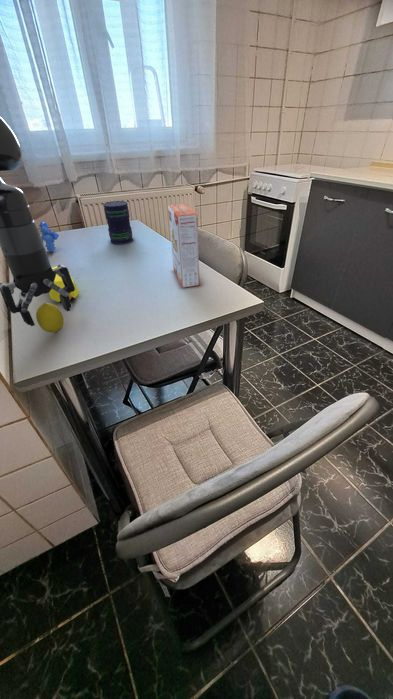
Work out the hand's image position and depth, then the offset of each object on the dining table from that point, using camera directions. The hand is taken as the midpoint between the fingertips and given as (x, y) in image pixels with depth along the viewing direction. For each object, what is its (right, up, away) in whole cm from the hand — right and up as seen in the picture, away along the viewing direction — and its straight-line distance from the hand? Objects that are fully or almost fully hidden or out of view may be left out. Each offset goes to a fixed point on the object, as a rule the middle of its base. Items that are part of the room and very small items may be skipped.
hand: (50, 317), depth 68 cm
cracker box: (+30, +15, +27) cm, 43 cm away
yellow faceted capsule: (-6, +10, +21) cm, 24 cm away
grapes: (-24, +32, +52) cm, 65 cm away
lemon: (0, -4, +3) cm, 5 cm away
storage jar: (+1, +40, +61) cm, 73 cm away
